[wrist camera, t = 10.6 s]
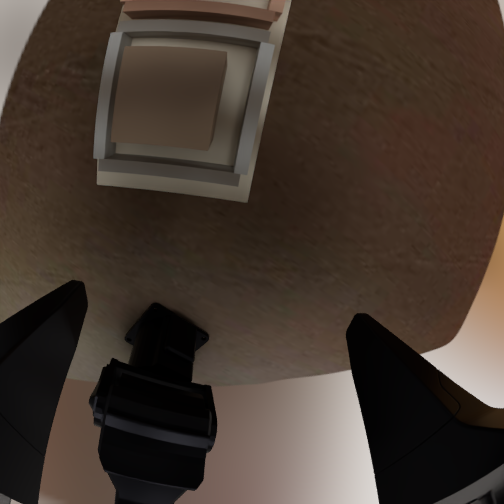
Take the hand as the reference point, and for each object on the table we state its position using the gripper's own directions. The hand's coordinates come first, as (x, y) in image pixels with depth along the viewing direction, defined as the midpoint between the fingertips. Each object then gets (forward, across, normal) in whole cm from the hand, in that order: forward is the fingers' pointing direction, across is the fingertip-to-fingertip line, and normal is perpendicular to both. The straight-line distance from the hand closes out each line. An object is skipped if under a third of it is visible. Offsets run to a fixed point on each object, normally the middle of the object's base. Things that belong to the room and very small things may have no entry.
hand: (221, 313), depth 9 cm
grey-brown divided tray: (+13, +4, -11) cm, 17 cm away
